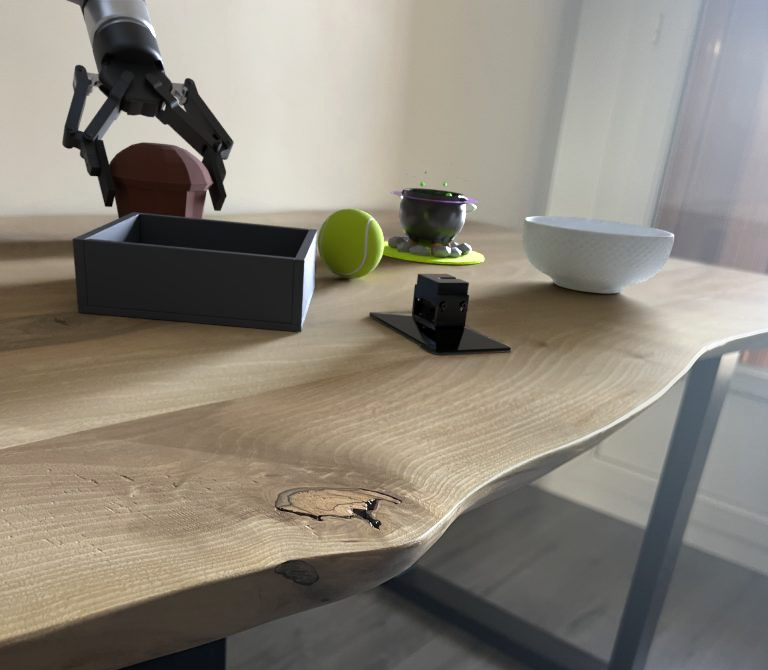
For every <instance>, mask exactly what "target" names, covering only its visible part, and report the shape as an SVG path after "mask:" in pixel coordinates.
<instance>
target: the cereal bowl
mask: <svg viewBox="0 0 768 670" xmlns="http://www.w3.org/2000/svg"><path fill="white" fill-rule="evenodd" d="M521 234H522V235H521V238H522V242H521V243H522V248H523V252H524V255H525V257H526V259H527V260H528V262H529V263H530V264H531V265H532V267H534V268H535V269H537V270H538V271H539V272H541V273H542V274H545V275H546V276H548V277H549V278H550V279H551V281H552V282H553V283H554V284H555V285H556V286H559V287H561V288H564V289H568V290H573V291H577V292H584V293H593V294H618V293H621V292H622V291H623V290H624V289H625V288H627V287H631V286H634V285H637V284H640V283H644V282H646V281H648V280H650V279H652V278H653V277H654V276H656V275H657V274H658V273H660V272H661V270H662V269H663V268H665V266H666V263H667V261H668V260H669V257H670V255H671V252H672V249H673V245H674V242H675V234H674V233H672V232H669V231H667V230H664V229H660V228H655V227H651V226H646V225H645V226H644V225H641V224H635V223H627V222H620V221H613V220H604V219H596V218H587V217H578V216H577V217H575V216H559V215H558V216H557V215H534V216H533V215H532V216H527V217H525V218H524V220H523V225H522V233H521Z"/></svg>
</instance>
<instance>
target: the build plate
mask: <svg viewBox="0 0 768 670" xmlns="http://www.w3.org/2000/svg"><path fill="white" fill-rule="evenodd" d="M469 286H470V282H468V281H466V280H463V279H461V278H457V277H456V276H453V275H452V274H449V273H417V277H416V283H415V284H414V287H413V297H412V298H413V299H412V307H411V311H410V310H407V311H406V310H405V311H370V312H369V314H368V316H369V317H370V318H372V319H373V320H374V321H376V322H379V323H380V324H382V325H384V326H386V327H388V328H389V329H391V330H392V331H394V332H396V333H398V334H400V335H401V336H403V337H405V338H407V339H408V340H410V341H412V342H414V343H416V344H417V345H419V348H421V349H423V350H424V351H426V352H428V353H431V354H434V355H441V356H442V355H462V354H481V353H482V354H486V353H503V352H511V350H512V347H511V346H510V345H508V344H506V343H504V342H502V341H499V340H497V339H495V338H494V337H491V336H489V335H487V334H485V333H483V332H481V331H479V330H477V329H475V328H473V327H471V326H469V325H467V323H466V322H467V317H468V308H469V303H470V302H469V301H470V295H469Z"/></svg>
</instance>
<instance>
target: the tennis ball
mask: <svg viewBox="0 0 768 670" xmlns="http://www.w3.org/2000/svg"><path fill="white" fill-rule="evenodd" d="M384 239H385V238H384V233H383V230H382V228H381V226H380V224H379V222H378V221H377V220H376V219H375V218H374V217H373V216H372V215H371V214H370V213H367V212H366V211H364V210H361V209H356V208H343V209H340V210H337V211H335V212H333V213H331V214H330V215H328V217H327V218H326V219H325V220H324V221H323V223H322V225H321V227H320V229H319V230H318V235H317V252H318V255H319V258H320V260H321V261H322V263H323V265H324V266H325V267H326V269H328V270H329V271H330V272H331V273H333V274H334V275H336V276H338V277H340V278H343V279H358V278H362V277H364V276H367V275H368V274H370V273H371V272H373V271H374V270H375V268H377V266H378V265H379V263H380V261H381V259H382V258H383V255H382V254H383V250H384V242H385V240H384Z"/></svg>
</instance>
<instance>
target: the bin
mask: <svg viewBox="0 0 768 670" xmlns="http://www.w3.org/2000/svg"><path fill="white" fill-rule="evenodd" d="M318 235H319V229H315V228H305V227H303V228H302V227H295V226H283V225H273V224H262V223H252V222H241V221H231V220H222V219H221V220H219V219H209V218H203V219H200V218H189V217H179V216H168V215H158V214H147V213H137V212H132V213H130V214H128V215H126V216H123V217H121V218H119V217H118V218H116V219H114V220H112V221H109V222H108V223H105V224H102V225H101V226H99V227H96V228H94V229H92V230H90V231H87V232H85V233H83V234H81V235H78V236H76V237H73V238H72V251H73V263H74V276H75V291H76V304H77V312H78V313H80V314H92V315H103V316H113V317H124V318H125V317H126V318H138V319H149V320H159V321H160V320H161V321H172V322H184V323H193V324H194V323H195V324H204V325H206V324H207V325H216V326H226V327H227V326H229V327H238V328H249V329H250V328H252V329H262V330H272V331H274V330H275V331H285V332H286V331H287V332H298V333H301V332H302V330H303V327H304V324H305V320H306V317H307V314H308V311H309V308H310V304H311V300H312V298H313V295H314V292H315V289H316V272H317V271H316V270H317V253H318Z"/></svg>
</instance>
